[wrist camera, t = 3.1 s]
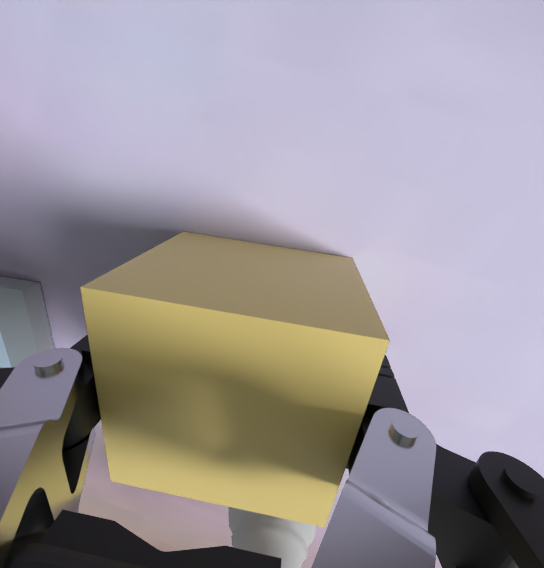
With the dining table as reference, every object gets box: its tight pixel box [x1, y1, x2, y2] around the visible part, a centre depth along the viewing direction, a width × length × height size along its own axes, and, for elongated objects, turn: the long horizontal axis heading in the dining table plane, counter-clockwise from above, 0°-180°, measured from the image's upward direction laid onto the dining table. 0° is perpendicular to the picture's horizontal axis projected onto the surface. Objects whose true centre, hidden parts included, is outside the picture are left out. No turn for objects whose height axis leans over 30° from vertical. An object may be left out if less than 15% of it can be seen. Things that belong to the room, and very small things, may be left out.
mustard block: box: [80, 232, 390, 527], centre depth 9 cm, size 6×6×5 cm
